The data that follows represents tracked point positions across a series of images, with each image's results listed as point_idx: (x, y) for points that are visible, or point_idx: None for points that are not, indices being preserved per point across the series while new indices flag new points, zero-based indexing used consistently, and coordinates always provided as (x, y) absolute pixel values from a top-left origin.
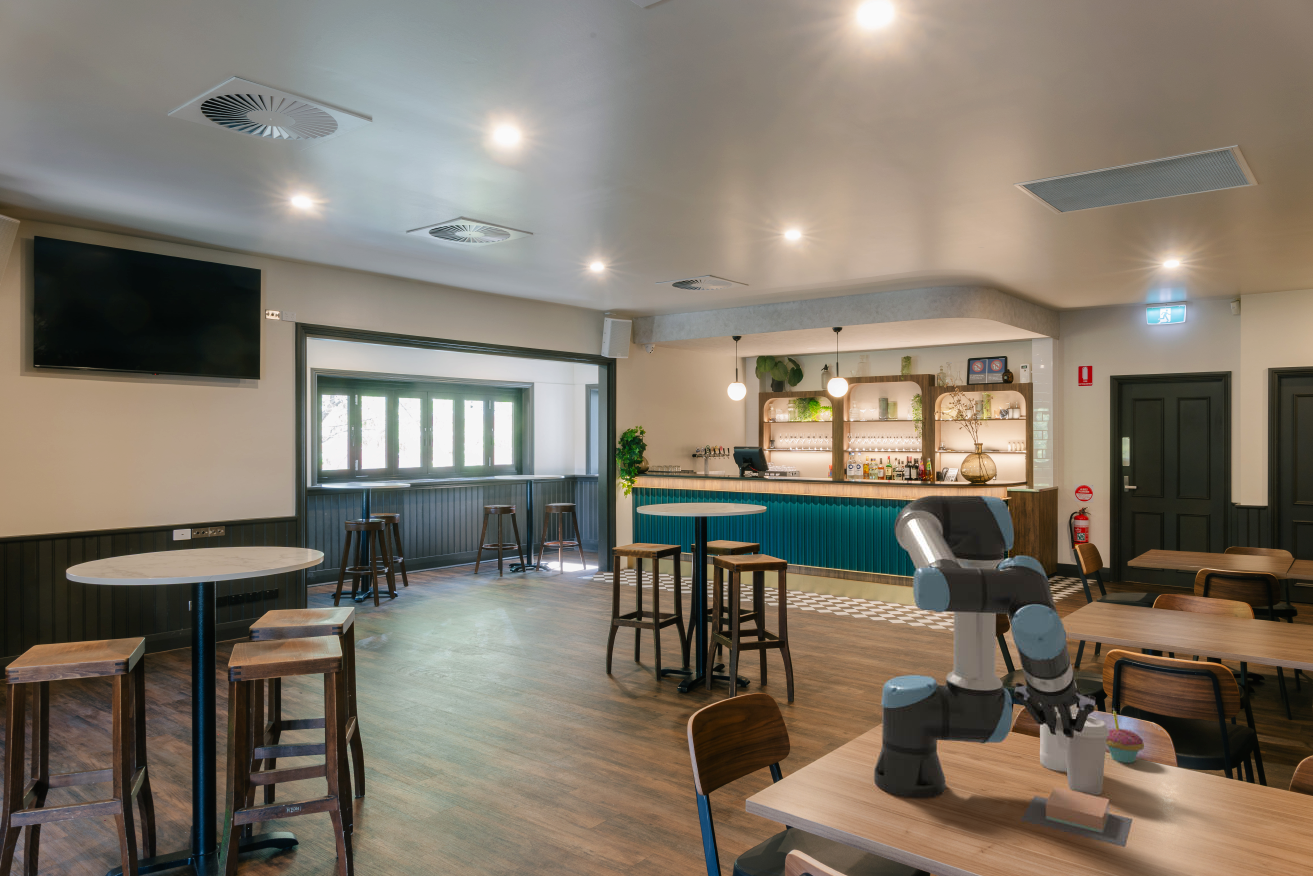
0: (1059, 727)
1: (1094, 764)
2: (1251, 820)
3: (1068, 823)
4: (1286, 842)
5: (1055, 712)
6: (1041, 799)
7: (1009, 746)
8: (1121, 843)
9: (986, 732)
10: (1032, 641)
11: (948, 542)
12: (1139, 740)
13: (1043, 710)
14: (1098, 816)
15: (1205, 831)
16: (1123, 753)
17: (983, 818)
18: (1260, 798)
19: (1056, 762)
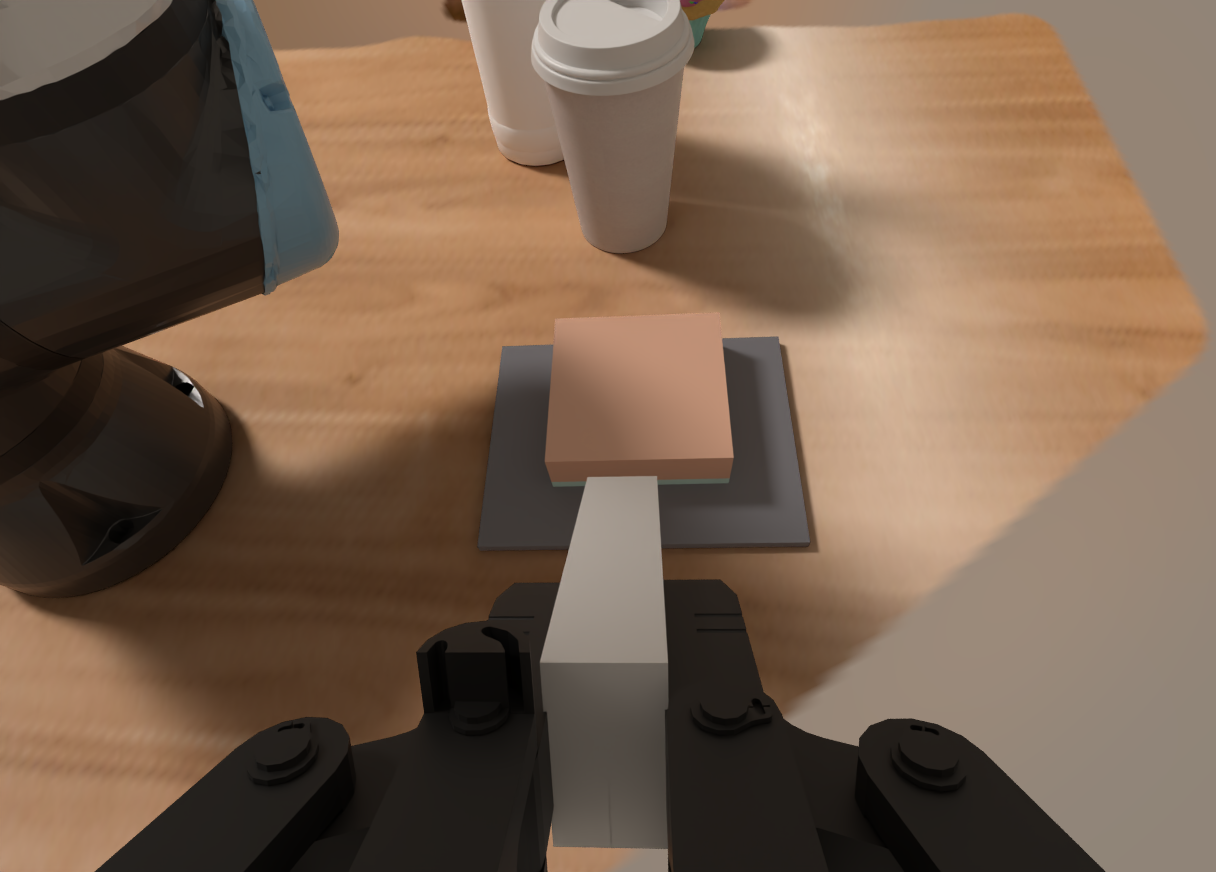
0: (601, 800)
1: (653, 168)
2: (1014, 172)
3: None
4: (1126, 238)
5: (507, 859)
6: (524, 359)
7: (415, 102)
8: (795, 523)
9: (233, 281)
10: None
11: None
12: None
13: (285, 849)
14: (719, 458)
15: (951, 288)
16: None
17: (358, 593)
18: (985, 65)
19: (537, 145)
